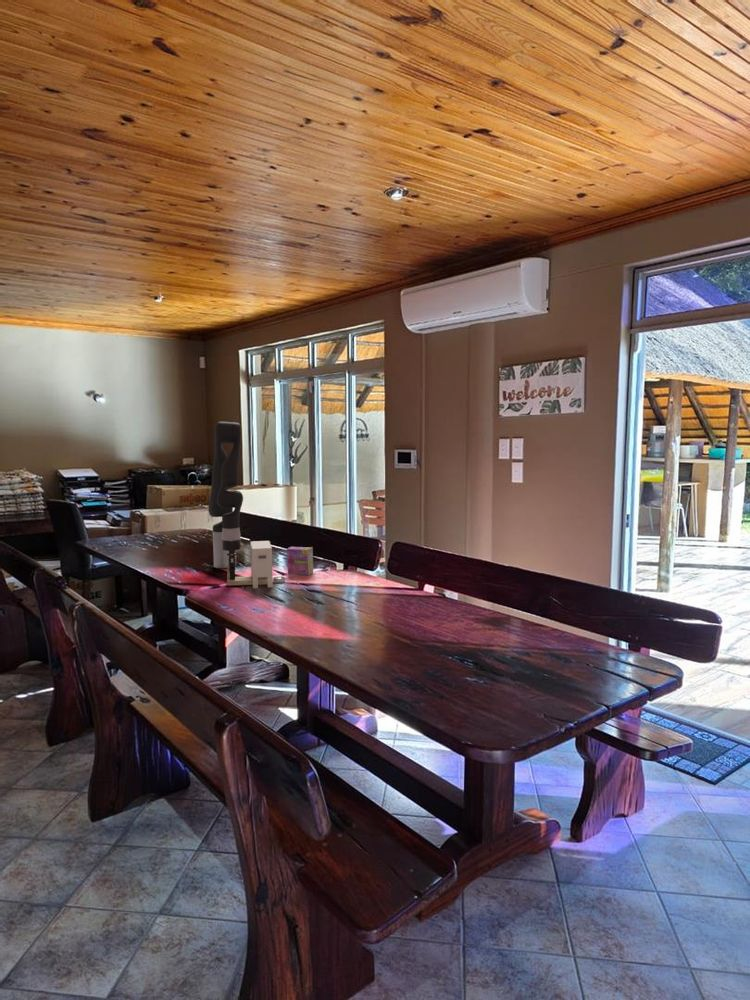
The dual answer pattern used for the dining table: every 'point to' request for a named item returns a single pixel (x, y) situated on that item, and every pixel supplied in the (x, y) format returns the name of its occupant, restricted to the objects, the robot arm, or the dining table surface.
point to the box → (300, 560)
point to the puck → (279, 579)
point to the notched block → (261, 562)
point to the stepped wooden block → (244, 579)
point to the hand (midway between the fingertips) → (232, 578)
